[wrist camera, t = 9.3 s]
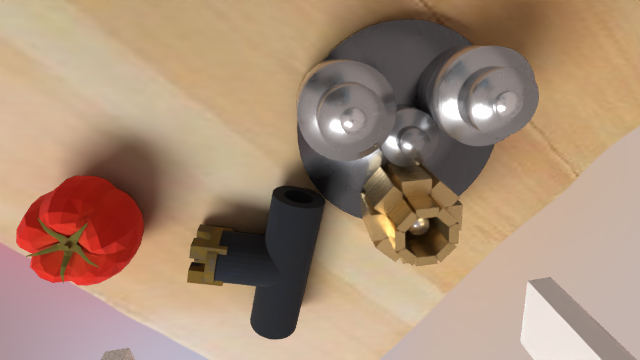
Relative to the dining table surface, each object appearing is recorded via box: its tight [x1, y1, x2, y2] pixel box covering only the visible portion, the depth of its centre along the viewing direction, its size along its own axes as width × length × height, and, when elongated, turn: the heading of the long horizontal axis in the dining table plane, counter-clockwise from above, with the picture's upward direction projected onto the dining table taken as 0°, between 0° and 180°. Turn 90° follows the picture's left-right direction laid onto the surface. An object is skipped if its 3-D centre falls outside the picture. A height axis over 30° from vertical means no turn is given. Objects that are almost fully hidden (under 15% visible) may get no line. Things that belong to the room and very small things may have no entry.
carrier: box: [296, 19, 539, 235], centre depth 30 cm, size 19×19×9 cm
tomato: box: [16, 176, 144, 285], centre depth 32 cm, size 9×9×8 cm
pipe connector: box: [187, 186, 325, 339], centre depth 36 cm, size 12×5×15 cm
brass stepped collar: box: [360, 163, 463, 266], centre depth 32 cm, size 8×8×8 cm
